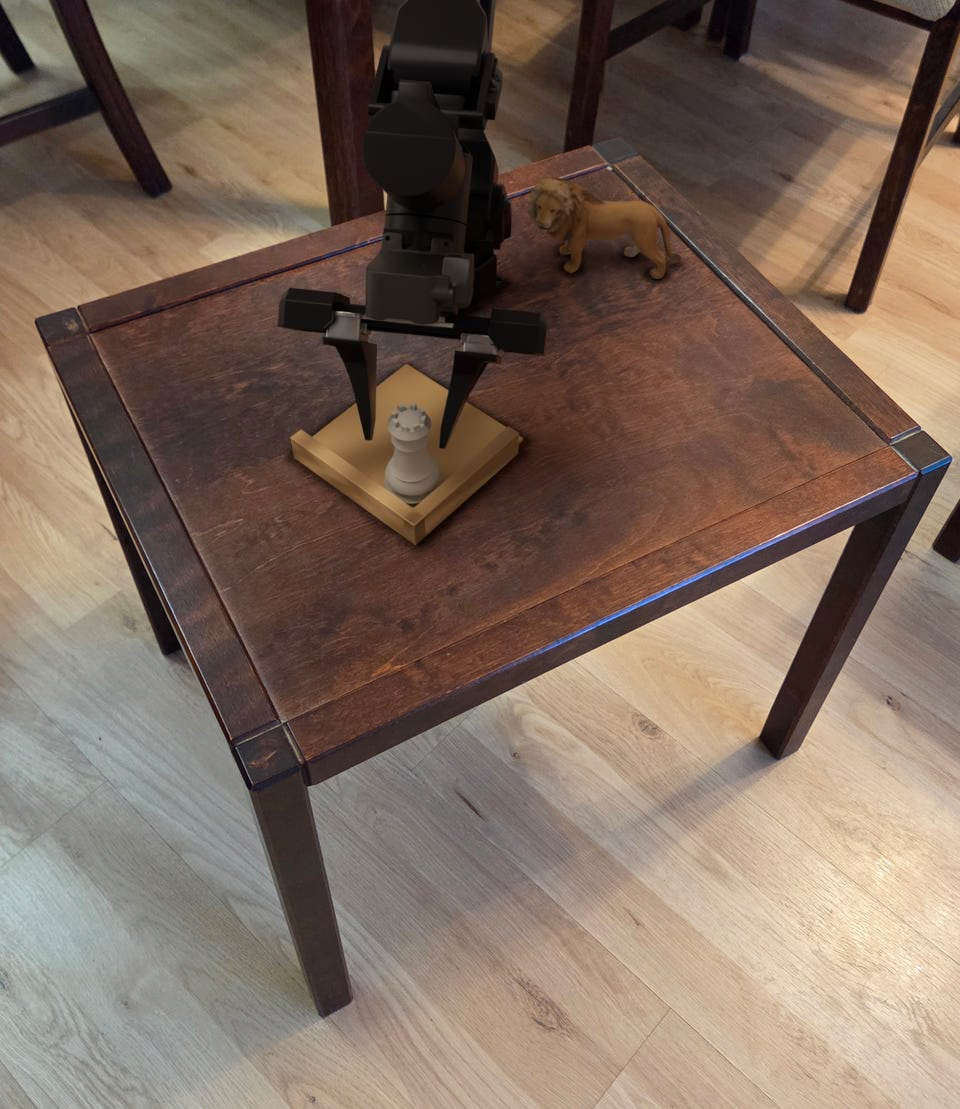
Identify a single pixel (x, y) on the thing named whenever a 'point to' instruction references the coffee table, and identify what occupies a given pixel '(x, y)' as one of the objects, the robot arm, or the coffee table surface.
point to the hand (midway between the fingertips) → (405, 444)
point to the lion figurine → (597, 222)
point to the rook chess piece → (411, 456)
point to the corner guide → (363, 463)
